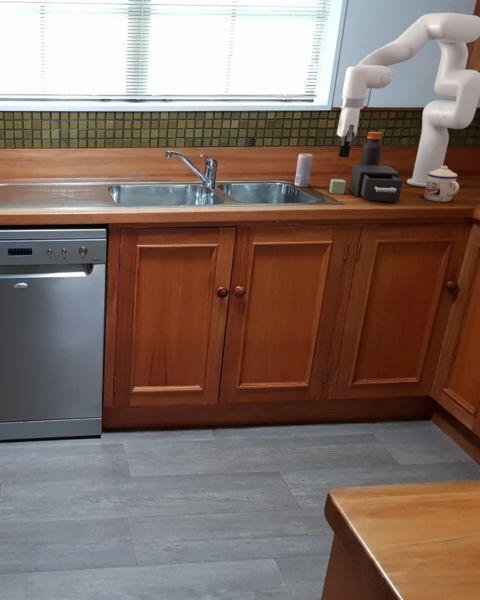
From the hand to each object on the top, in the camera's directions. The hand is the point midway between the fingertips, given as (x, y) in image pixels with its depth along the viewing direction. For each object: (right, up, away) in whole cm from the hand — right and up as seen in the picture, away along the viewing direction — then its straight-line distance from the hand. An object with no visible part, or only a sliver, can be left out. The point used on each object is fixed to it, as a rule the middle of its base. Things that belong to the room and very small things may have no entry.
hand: (343, 156), depth 220 cm
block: (0, -12, +6) cm, 13 cm away
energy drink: (-9, -8, +16) cm, 20 cm away
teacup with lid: (+32, -17, -6) cm, 36 cm away
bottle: (+17, -7, +18) cm, 25 cm away
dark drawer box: (+12, -13, +4) cm, 18 cm away
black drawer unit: (+9, -16, -7) cm, 20 cm away
